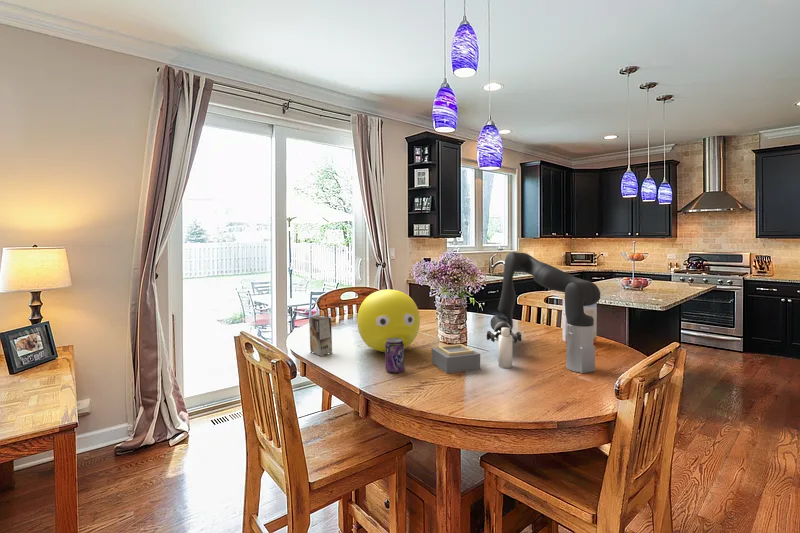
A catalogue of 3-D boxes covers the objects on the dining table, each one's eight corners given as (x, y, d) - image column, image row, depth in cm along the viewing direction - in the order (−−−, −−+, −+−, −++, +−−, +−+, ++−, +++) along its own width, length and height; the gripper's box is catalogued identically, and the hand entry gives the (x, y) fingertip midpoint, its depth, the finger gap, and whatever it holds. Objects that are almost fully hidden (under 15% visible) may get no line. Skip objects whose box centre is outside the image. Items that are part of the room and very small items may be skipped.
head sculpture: (365, 363, 171) (363, 295, 169) (353, 345, 198) (351, 287, 196) (429, 356, 179) (428, 292, 177) (409, 341, 206) (408, 284, 204)
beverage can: (388, 374, 157) (387, 342, 156) (383, 368, 163) (383, 338, 162) (406, 372, 158) (406, 341, 158) (401, 367, 165) (401, 337, 164)
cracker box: (592, 340, 201) (592, 297, 200) (596, 344, 195) (597, 299, 194) (561, 340, 203) (562, 297, 201) (565, 343, 197) (566, 299, 195)
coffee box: (333, 353, 185) (332, 317, 184) (320, 356, 181) (319, 319, 180) (322, 349, 192) (321, 314, 191) (309, 352, 188) (308, 316, 187)
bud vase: (514, 367, 163) (515, 329, 162) (503, 368, 161) (503, 330, 160) (507, 363, 168) (507, 326, 167) (495, 364, 166) (496, 327, 165)
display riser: (480, 369, 161) (480, 351, 161) (446, 373, 157) (446, 355, 156) (463, 359, 174) (463, 342, 174) (432, 362, 170) (431, 345, 170)
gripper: (486, 322, 190) (486, 330, 174) (519, 323, 187) (522, 331, 171) (486, 338, 191) (486, 348, 175) (519, 340, 188) (522, 349, 172)
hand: (504, 340), depth 173 cm, fingers open, 8 cm apart
